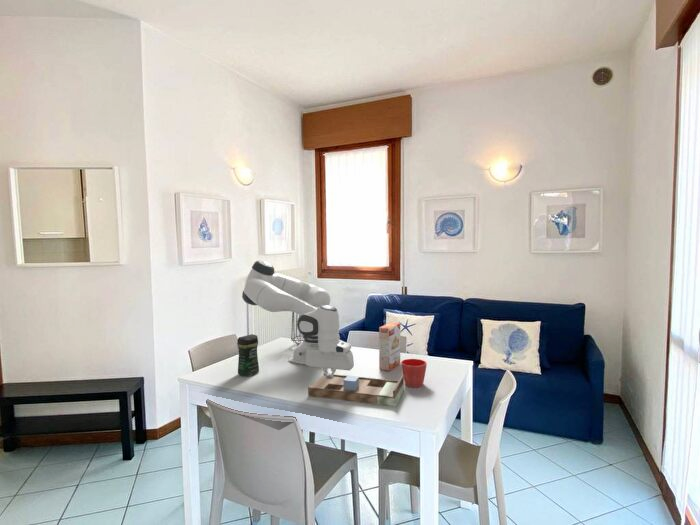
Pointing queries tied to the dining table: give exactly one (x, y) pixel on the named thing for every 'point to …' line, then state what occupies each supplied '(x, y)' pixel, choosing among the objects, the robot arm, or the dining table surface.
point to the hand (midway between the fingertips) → (329, 378)
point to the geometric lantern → (296, 329)
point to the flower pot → (413, 372)
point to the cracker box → (389, 346)
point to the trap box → (359, 390)
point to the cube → (351, 383)
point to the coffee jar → (248, 355)
